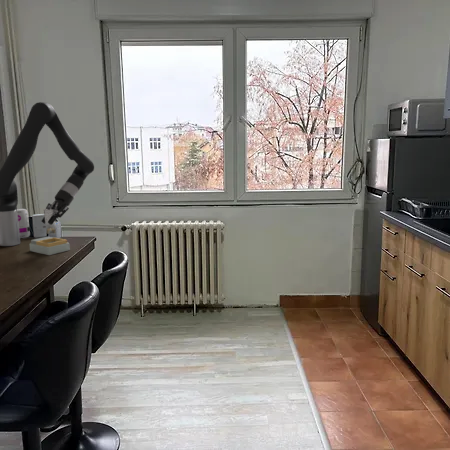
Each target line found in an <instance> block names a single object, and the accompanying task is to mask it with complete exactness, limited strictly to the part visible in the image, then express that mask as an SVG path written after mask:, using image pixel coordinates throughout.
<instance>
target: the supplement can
mask: <svg viewBox="0 0 450 450" xmlns="http://www.w3.org/2000/svg"><path fill="white" fill-rule="evenodd" d="M17 214H18V223H19V233H20V239H25V238H29V237H30V236H31V232H30V222H29V212H28V210H27V209H26V208H17Z"/></svg>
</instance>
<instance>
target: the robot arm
mask: <svg viewBox="0 0 450 450" xmlns="http://www.w3.org/2000/svg"><path fill="white" fill-rule="evenodd" d="M27 116H28V117H27V118H26V121H25V123H24V126H23V128H22V129H21V131H20V132H19V134H18V136H17V138H16V140H15V141H14V142H13V144H12V147H11V149H10V151H9V152H8V155H7V156H6V159H5V161H4V162H3V164H2V167H1V168H0V246H1V247H11V246H12V247H13V246H17V245H20V244H21V243H22V242H21V238H20V233H19V223H18V214H17V209H18V204H19V197H18V195H19V194H18V187H17V183H16V182H15V178H16V176H17V175H18V173H20V171H22V170H23V169H24V168H25V166H26V165H27V164H28V162H29V161H30V160H31V158H32V156H33V154H34V153H35V151H36V149H37V148H36V147H37V144H38V140H39V135H40V133H41V131H42V130H43V129H44V127H45V126H47V127H48V128H49V130H50V131H51V132H52V134H53V135H54V137H55V139H56V141H57V143H58V145H59V146H60V148H61V149H62V152H63V153H64V154H65V155H66V156H67V158H68V159H69V160H70V161H73V162H75V163H76V166H75V168H74V169H73V171H72V173H71V174H70V176H69V177H68V178H67V180H66V181H65V182H64V184H62V186H61V187H60V189H58V191H57V193H55V196H54V201H53V202H52V203H50V202H49V203H48V204H47V205H46V206H45V209H47V206H50V209H54V213H53V216H51V218H50V219H49V221H48V223H49V224H50V225H52V224H53V223H54V221H55V222H56V221H57V219H58V218H62V217H63V216H64V214H66V213H67V212H68V210H69V209H70V208H69V206H70V205H71V203H72V202H73V201H74V199H75V197H76V196H77V194H78V193H79V191H80V189H81V188H82V187H83V184H84V182H85V180H86V178H87V177H88V176H89V175H90V174H91V173H93V172H94V170H95V164H94V163H93V161H92V159H91V158H90V157H89V156H88V155H87V154H85V152H83V150H81V148H80V147H79V145H78V144H77V142H76V141H75V140H74V139H73V138H72V136H71V135H70V134H69V132H68V130H67V129H66V127H65V126H64V125H63V123H62V121H61V120H60V117H59V115H58V113H57V112H56V109H55V108H54V107H53V105H52V104H50V103H48V102H43V101H40V102H36V103H34V104H33V105H32V106H31V108H30V110H29V113H28V115H27ZM42 222H43V223H44V224H45V217H44V218H43V219H42Z"/></svg>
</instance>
